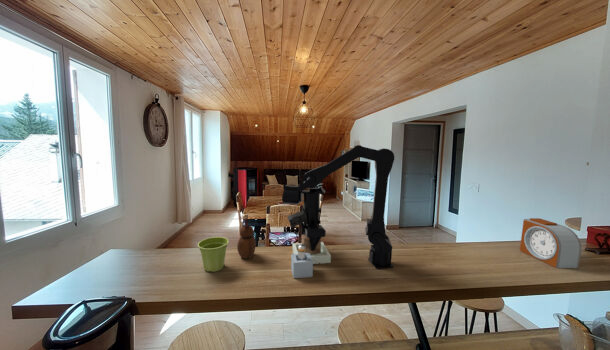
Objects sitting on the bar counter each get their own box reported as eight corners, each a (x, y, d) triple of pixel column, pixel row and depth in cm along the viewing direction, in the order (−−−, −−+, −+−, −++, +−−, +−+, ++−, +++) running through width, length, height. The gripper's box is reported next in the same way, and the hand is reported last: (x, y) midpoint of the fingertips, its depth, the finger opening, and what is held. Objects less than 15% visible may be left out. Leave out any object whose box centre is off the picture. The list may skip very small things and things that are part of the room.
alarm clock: (516, 249, 97) (520, 217, 96) (536, 249, 98) (541, 217, 96) (555, 268, 83) (560, 229, 81) (578, 268, 83) (585, 230, 81)
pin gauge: (304, 270, 78) (304, 243, 77) (305, 274, 76) (306, 246, 75) (297, 270, 78) (297, 244, 77) (298, 274, 76) (298, 247, 75)
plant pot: (234, 267, 79) (234, 242, 78) (206, 278, 73) (205, 251, 72) (220, 258, 86) (220, 234, 85) (193, 267, 79) (192, 242, 78)
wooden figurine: (250, 261, 84) (249, 219, 82) (235, 259, 85) (234, 218, 83) (258, 252, 90) (257, 214, 89) (243, 251, 92) (243, 213, 90)
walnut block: (317, 246, 92) (317, 233, 91) (320, 253, 86) (320, 239, 85) (301, 247, 91) (301, 234, 90) (304, 254, 85) (304, 240, 84)
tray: (322, 248, 95) (322, 242, 95) (330, 262, 84) (330, 255, 83) (292, 250, 93) (292, 243, 93) (296, 265, 82) (296, 257, 81)
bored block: (309, 267, 80) (309, 252, 80) (312, 276, 75) (312, 261, 74) (291, 268, 79) (291, 254, 79) (293, 278, 74) (293, 262, 73)
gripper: (286, 200, 94) (286, 238, 96) (292, 213, 76) (291, 260, 78) (314, 199, 96) (314, 237, 98) (326, 212, 78) (325, 258, 80)
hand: (310, 247), depth 88 cm, fingers closed on walnut block, 6 cm apart
